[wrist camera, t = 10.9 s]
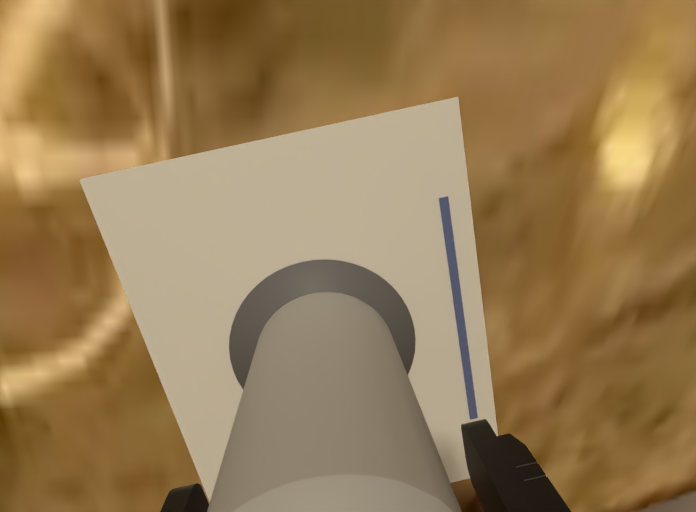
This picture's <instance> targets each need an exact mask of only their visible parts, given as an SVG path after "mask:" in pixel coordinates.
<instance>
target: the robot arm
mask: <svg viewBox="0 0 696 512" xmlns="http://www.w3.org/2000/svg"><path fill="white" fill-rule="evenodd" d="M461 431H462V438H463V444H464V451H465V457H466V464H467V468H468V472H469V476H470V479H471V482H472V484H473V487H474V489H475V491H476V494H477V496H478V498H479V500H480V502H481V505H482V507H483V509H484V511H485V512H571V511H570V509H569V508H568V507H567V505H566V504H565V502H564V501H563V499H562V498H561V496H560V495H559V493H558V492H557V490H556V489H555V488H554V486H553V485H552V483H551V482H550V480H549V479H548V477H546V475H545V473H544V472H543V470H542V469H541V467H540V466H539V464H537V462H536V460H535V458H534V457H533V456H532V454H531V453H530V451H529V450H528V448H527V447H526V445H524V444H523V443H522V442H520V441H519V440H518V439H516V438H515V437H513V436H512V435H511V434H505V435H501V436H496V434H495V432H494V431H493V429H492V427H491V426H490V424H489V423H488V421H487V420H486V419H483V420H478V421H474V422H469V423H465V424H461ZM208 507H209V504H208V501H207V499H206V496H205V494H204V492H203V489H202V487H201V485H200V484H193V485H188V486H184V487H180V488H175V489H172V490H171V491H170V492H169V494H168V496H167V498H166V500H165V503H164V505H163V507H162V509H161V512H207V510H208Z"/></svg>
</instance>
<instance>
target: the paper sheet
mask: <svg viewBox="0 0 696 512" xmlns="http://www.w3.org/2000/svg"><path fill="white" fill-rule="evenodd" d="M79 180H80V183H81V185H82V188H83V190H84V193H85V195H86V198H87V200H88V203H89V205H90V207H91V210H92V212H93V215H94V217H95V220H96V222H97V225H98V227H99V230H100V232H101V235H102V237H103V240H104V242H105V245H106V247H107V250H108V252H109V254H110V257H111V259H112V262H113V264H114V267H115V269H116V272H117V274H118V277H119V279H120V282H121V284H122V287H123V289H124V292H125V294H126V296H127V299H128V301H129V304H130V306H131V309H132V311H133V314H134V316H135V319H136V321H137V324H138V326H139V329H140V331H141V334H142V336H143V338H144V341H145V343H146V346H147V348H148V351H149V353H150V356H151V358H152V361H153V363H154V366H155V368H156V371H157V373H158V376H159V378H160V380H161V383H162V385H163V388H164V390H165V393H166V395H167V398H168V400H169V403H170V405H171V408H172V410H173V413H174V415H175V418H176V420H177V423H178V425H179V427H180V430H181V432H182V435H183V437H184V440H185V442H186V445H187V447H188V450H189V452H190V455H191V457H192V460H193V462H194V465H195V467H196V469H197V472H198V474H199V477H200V479H201V482H202V484H203V487H204V489H205V492H206V494H207V497H208V499H209V502H210V500H211V497H212V493H213V490H214V487H215V483H216V480H217V477H218V473H219V470H220V466H221V463H222V460H223V456H224V453H225V450H226V446H227V443H228V440H229V436H230V433H231V430H232V426H233V423H234V420H235V416H236V413H237V410H238V406H239V403H240V400H241V396H242V393H243V389H244V386H245V383H246V379H247V376H248V373H249V369H250V366H251V363H252V359H253V356H254V353H255V349H256V346H257V343H258V339H259V336H260V334H261V332H262V330H263V328H264V326H265V324H266V323H267V322H268V320H269V319H270V318H271V317H272V315H273V314H274V313H275V312H276V311H278V310H279V309H280V308H281V307H282V306H284V305H285V304H287V303H289V302H290V301H292V300H294V299H296V298H299V297H301V296H304V295H308V294H312V293H319V292H335V293H342V294H346V295H349V296H353V297H355V298H357V299H359V300H361V301H363V302H364V303H366V304H368V305H369V306H371V307H372V308H373V309H375V310H376V311H377V312H378V313H379V314H380V316H381V317H382V318H383V320H384V321H385V323H386V324H387V326H388V328H389V330H390V332H391V335H392V337H393V340H394V342H395V345H396V347H397V350H398V352H399V355H400V357H401V360H402V362H403V365H404V367H405V370H406V372H407V375H408V377H409V380H410V382H411V385H412V388H413V390H414V393H415V395H416V398H417V400H418V403H419V405H420V408H421V410H422V413H423V415H424V418H425V420H426V423H427V425H428V428H429V430H430V433H431V435H432V438H433V440H434V443H435V445H436V448H437V450H438V453H439V455H440V458H441V460H442V463H443V465H444V468H445V470H446V473H447V475H448V478H449V480H450V483H452V482H457V481H461V480H465V479H469V478H470V476H469V472H468V468H467V464H466V457H465V451H464V444H463V438H462V431H461V424H465V423H469V422H474V421H478V420H483V419H486V420H487V421H488V423H489V424H490V426H491V427H492V429H493V431H494V432H495V434H496V436H498V432H497V423H496V415H495V406H494V398H493V389H492V381H491V372H490V364H489V355H488V347H487V338H486V330H485V321H484V313H483V304H482V296H481V287H480V279H479V270H478V262H477V253H476V245H475V236H474V228H473V219H472V211H471V202H470V194H469V185H468V177H467V168H466V160H465V151H464V143H463V134H462V126H461V117H460V109H459V100H458V97H455V98H450V99H446V100H441V101H437V102H432V103H427V104H423V105H418V106H414V107H409V108H404V109H400V110H395V111H391V112H386V113H382V114H377V115H372V116H368V117H363V118H359V119H354V120H349V121H345V122H340V123H336V124H331V125H326V126H322V127H317V128H313V129H308V130H303V131H299V132H294V133H290V134H285V135H280V136H276V137H271V138H267V139H262V140H257V141H253V142H248V143H244V144H239V145H234V146H230V147H225V148H221V149H216V150H211V151H207V152H202V153H198V154H193V155H188V156H184V157H179V158H175V159H170V160H165V161H161V162H156V163H152V164H147V165H143V166H138V167H133V168H129V169H124V170H120V171H115V172H110V173H106V174H101V175H97V176H92V177H87V178H83V179H79Z"/></svg>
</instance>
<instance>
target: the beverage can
mask: <svg viewBox="0 0 696 512" xmlns="http://www.w3.org/2000/svg"><path fill="white" fill-rule="evenodd" d="M207 512H462V511H461V508H460V506H459V503H458V501H457V498H456V496H455V493H454V490H453V488H452V485H451V483H450V480H449V478H448V475H447V473H446V470H445V468H444V465H443V463H442V460H441V458H440V455H439V453H438V450H437V448H436V445H435V443H434V440H433V438H432V435H431V433H430V430H429V428H428V425H427V423H426V420H425V418H424V415H423V413H422V410H421V408H420V405H419V403H418V400H417V398H416V395H415V393H414V390H413V388H412V385H411V382H410V380H409V377H408V375H407V372H406V370H405V367H404V365H403V362H402V360H401V357H400V355H399V352H398V350H397V347H396V345H395V342H394V340H393V337H392V335H391V332H390V330H389V328H388V326H387V324H386V323H385V321H384V320H383V318H382V317H381V316H380V314H379V313H378V312H377V311H376V310H375V309H373V308H372V307H371V306H369V305H368V304H366V303H364V302H363V301H361V300H359V299H357V298H355V297H353V296H349V295H346V294H342V293H335V292H319V293H312V294H308V295H304V296H301V297H299V298H296V299H294V300H292V301H290V302H289V303H287V304H285V305H284V306H282V307H281V308H280V309H279V310H278V311H276V312H275V313H274V314H273V315H272V317H271V318H270V319H269V320H268V322H267V323H266V324H265V326H264V328H263V330H262V332H261V334H260V336H259V339H258V343H257V346H256V349H255V353H254V356H253V359H252V363H251V366H250V369H249V373H248V376H247V379H246V383H245V386H244V389H243V393H242V396H241V400H240V403H239V406H238V410H237V413H236V416H235V420H234V423H233V426H232V430H231V433H230V436H229V440H228V443H227V446H226V450H225V453H224V456H223V460H222V463H221V466H220V470H219V473H218V477H217V480H216V483H215V487H214V490H213V493H212V497H211V500H210V503H209V507H208V510H207Z"/></svg>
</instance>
